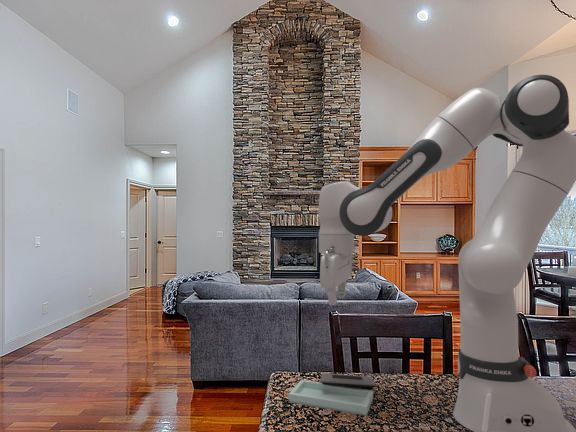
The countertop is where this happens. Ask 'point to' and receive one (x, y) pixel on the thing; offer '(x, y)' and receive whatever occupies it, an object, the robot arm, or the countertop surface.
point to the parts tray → (332, 397)
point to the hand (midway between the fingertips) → (337, 300)
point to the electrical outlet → (348, 380)
